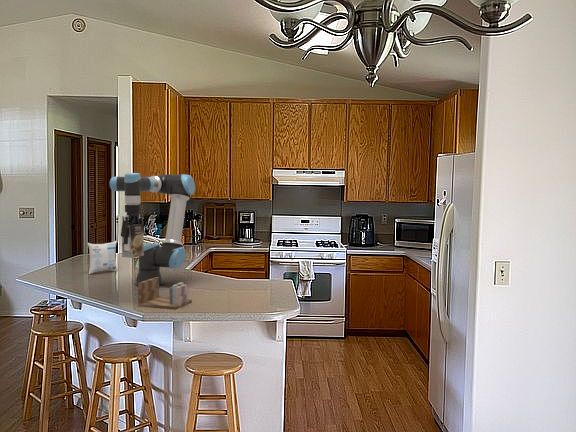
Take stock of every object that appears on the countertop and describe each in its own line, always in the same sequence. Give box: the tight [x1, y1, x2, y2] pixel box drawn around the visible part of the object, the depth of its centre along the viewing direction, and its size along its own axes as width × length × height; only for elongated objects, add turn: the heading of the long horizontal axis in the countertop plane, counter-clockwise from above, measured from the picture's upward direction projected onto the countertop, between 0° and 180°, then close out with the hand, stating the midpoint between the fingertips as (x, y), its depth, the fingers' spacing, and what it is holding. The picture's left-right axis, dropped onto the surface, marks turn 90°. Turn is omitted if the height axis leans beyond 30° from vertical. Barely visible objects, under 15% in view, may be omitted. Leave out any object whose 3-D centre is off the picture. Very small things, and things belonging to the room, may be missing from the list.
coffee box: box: [121, 223, 145, 259], centre depth 272 cm, size 9×6×16 cm
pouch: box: [86, 240, 118, 275], centre depth 347 cm, size 8×19×20 cm, turn 128°
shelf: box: [137, 277, 193, 310], centre depth 267 cm, size 16×20×11 cm
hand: (133, 249), depth 273 cm, fingers closed on coffee box, 9 cm apart
